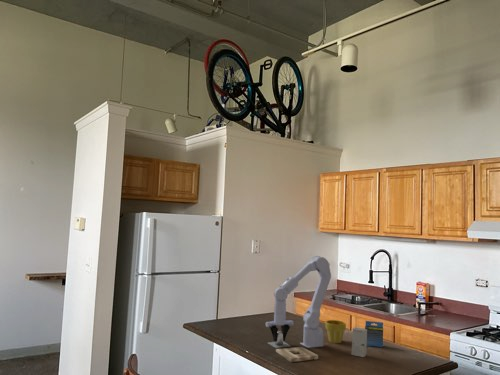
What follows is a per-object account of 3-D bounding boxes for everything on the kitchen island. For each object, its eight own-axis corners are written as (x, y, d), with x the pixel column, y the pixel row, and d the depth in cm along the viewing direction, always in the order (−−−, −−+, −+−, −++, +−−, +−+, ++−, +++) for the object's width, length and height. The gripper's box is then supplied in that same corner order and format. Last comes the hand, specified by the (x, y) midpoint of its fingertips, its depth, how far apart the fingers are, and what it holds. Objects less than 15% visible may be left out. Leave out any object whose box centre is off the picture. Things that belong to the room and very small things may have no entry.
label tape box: (382, 345, 212) (383, 320, 214) (383, 347, 209) (383, 322, 210) (364, 343, 215) (365, 319, 216) (364, 345, 211) (365, 320, 212)
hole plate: (301, 349, 199) (301, 346, 199) (318, 358, 186) (318, 355, 187) (275, 352, 194) (275, 349, 194) (290, 362, 181) (290, 358, 181)
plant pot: (345, 345, 210) (346, 325, 211) (324, 343, 213) (325, 323, 213) (345, 339, 221) (345, 320, 221) (325, 338, 223) (325, 319, 224)
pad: (282, 342, 211) (282, 341, 211) (291, 347, 203) (291, 346, 203) (266, 343, 208) (266, 342, 208) (275, 348, 200) (275, 347, 200)
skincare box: (351, 355, 194) (351, 328, 195) (353, 352, 198) (354, 326, 199) (364, 357, 191) (364, 330, 192) (367, 355, 195) (367, 328, 196)
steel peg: (280, 342, 208) (281, 330, 209) (284, 345, 205) (284, 332, 205) (273, 343, 207) (273, 331, 207) (277, 345, 203) (277, 333, 203)
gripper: (288, 310, 214) (288, 337, 212) (263, 311, 208) (262, 339, 206) (295, 313, 207) (295, 341, 206) (269, 314, 201) (268, 343, 200)
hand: (279, 340), depth 206 cm, fingers closed on steel peg, 4 cm apart
